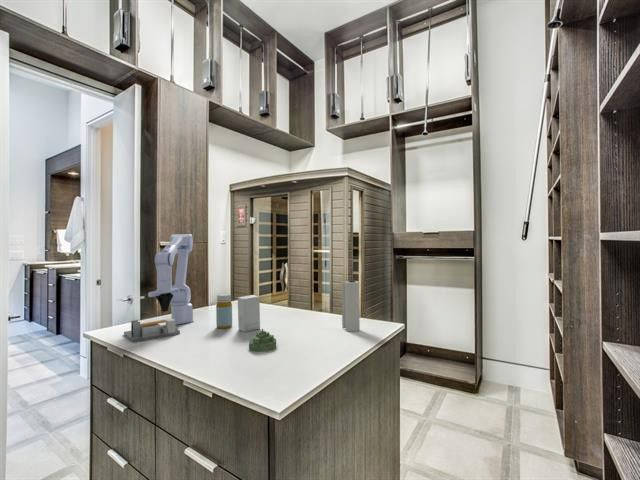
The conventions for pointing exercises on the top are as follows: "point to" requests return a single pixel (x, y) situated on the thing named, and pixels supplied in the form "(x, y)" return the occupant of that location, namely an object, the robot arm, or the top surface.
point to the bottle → (224, 311)
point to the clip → (170, 325)
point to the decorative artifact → (262, 342)
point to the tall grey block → (350, 306)
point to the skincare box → (248, 313)
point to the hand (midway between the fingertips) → (164, 311)
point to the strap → (151, 323)
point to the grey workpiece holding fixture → (147, 332)
